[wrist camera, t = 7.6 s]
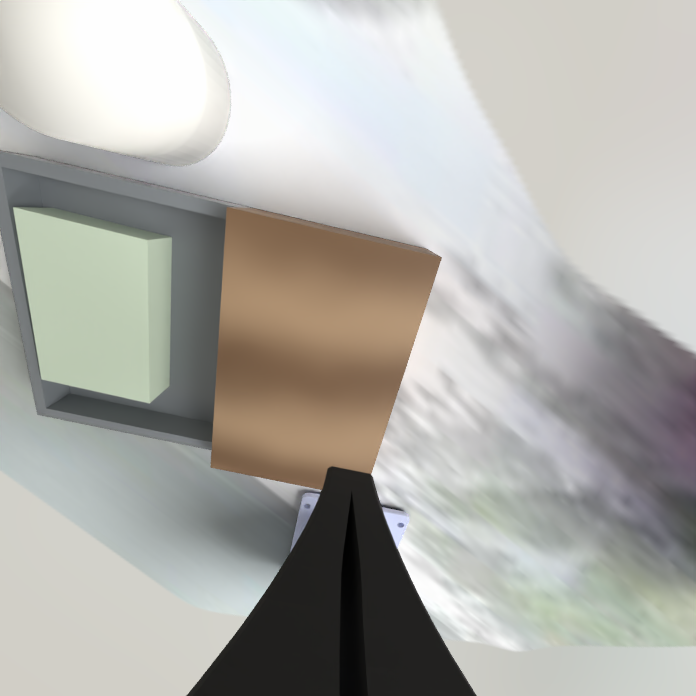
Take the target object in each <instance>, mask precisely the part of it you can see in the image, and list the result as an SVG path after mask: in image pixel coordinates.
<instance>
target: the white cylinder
mask: <svg viewBox="0 0 696 696" xmlns="http://www.w3.org/2000/svg"><path fill="white" fill-rule="evenodd" d="M0 107H1V108H2V109H3V110H4V111H5V112H6V113H8V114H9V115H11V116H12V117H13V118H15V119H16V120H17V121H19V122H20V123H22V124H24V125H25V126H27V127H29V128H31V129H32V130H35V131H37V132H39V133H41V134H44V135H46V136H50V137H53V138H56V139H60V140H64V141H69V142H73V143H77V144H81V145H85V146H89V147H94V148H98V149H102V150H106V151H110V152H114V153H118V154H123V155H127V156H131V157H135V158H139V159H143V160H148V161H152V162H156V163H160V164H164V165H170V166H187V165H192V164H195V163H197V162H199V161H201V160H203V159H205V158H206V157H207V156H209V155H210V154H211V153H212V152H213V151H214V150H215V149H216V148H217V146H218V145H219V143H220V142H221V140H222V138H223V136H224V134H225V132H226V129H227V126H228V122H229V118H230V111H231V91H230V83H229V79H228V74H227V71H226V68H225V64H224V62H223V59H222V57H221V55H220V53H219V51H218V49H217V47H216V45H215V44H214V42H213V40H212V39H211V38H210V36H209V35H208V33H207V32H206V31H205V30H204V29H203V28H202V26H201V25H200V24H199V23H198V22H197V21H196V20H195V19H194V17H193V16H192V15H191V14H190V13H189V12H188V11H187V9H186V8H185V7H184V6H183V5H182V4H181V3H180V1H179V0H0Z"/></svg>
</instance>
